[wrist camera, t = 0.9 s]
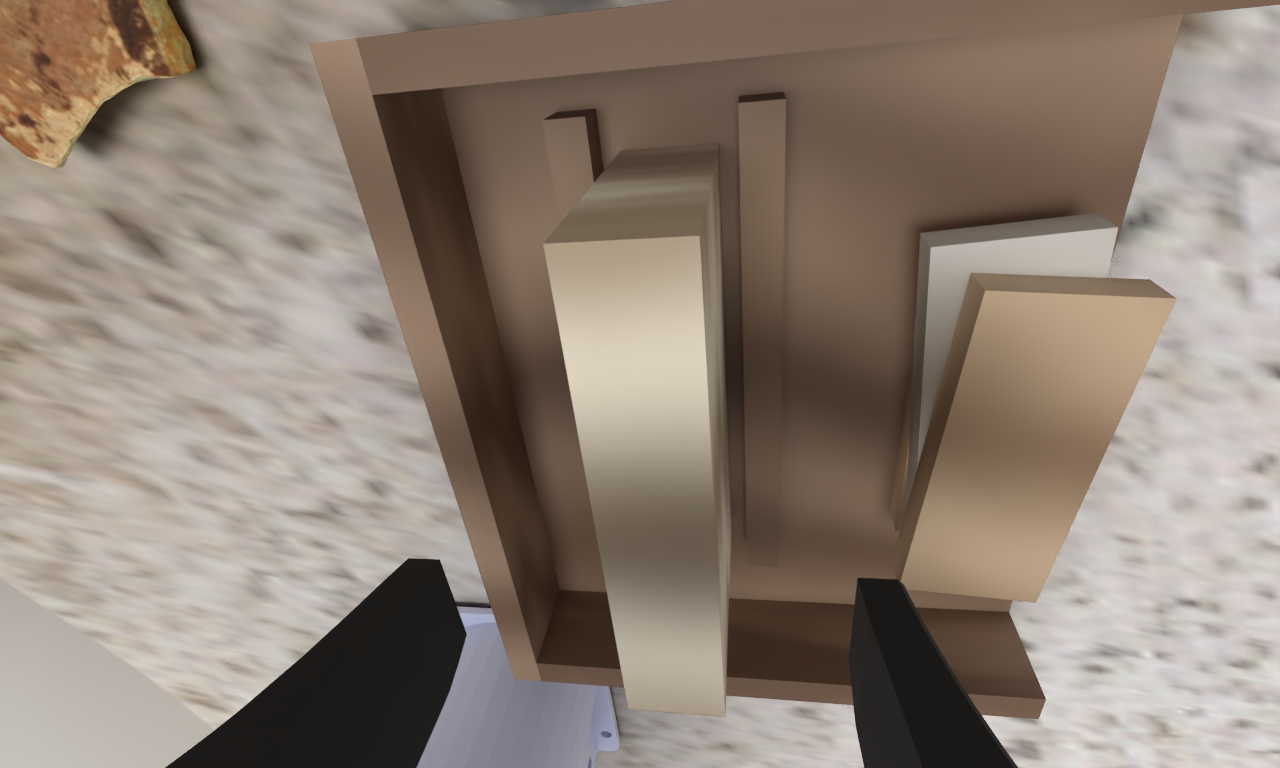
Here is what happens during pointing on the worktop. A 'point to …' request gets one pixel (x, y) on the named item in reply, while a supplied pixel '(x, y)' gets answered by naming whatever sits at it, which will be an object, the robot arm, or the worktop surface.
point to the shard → (78, 65)
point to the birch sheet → (654, 413)
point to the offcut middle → (993, 250)
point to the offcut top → (1022, 427)
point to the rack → (731, 273)
